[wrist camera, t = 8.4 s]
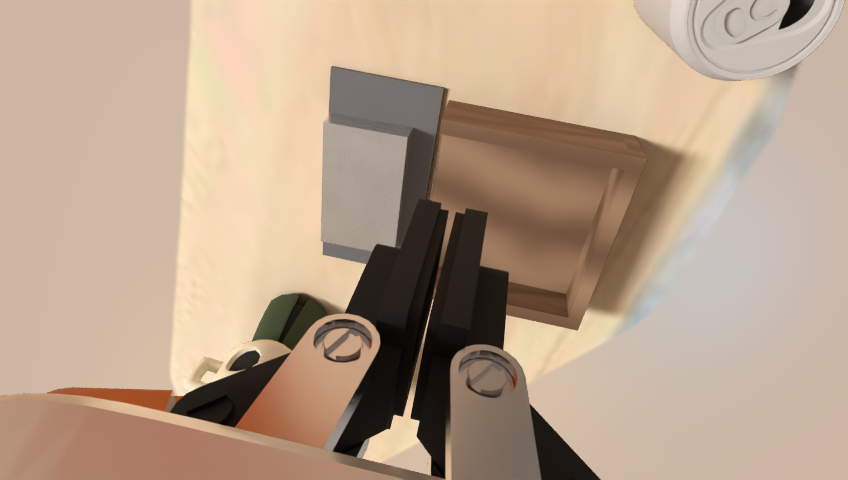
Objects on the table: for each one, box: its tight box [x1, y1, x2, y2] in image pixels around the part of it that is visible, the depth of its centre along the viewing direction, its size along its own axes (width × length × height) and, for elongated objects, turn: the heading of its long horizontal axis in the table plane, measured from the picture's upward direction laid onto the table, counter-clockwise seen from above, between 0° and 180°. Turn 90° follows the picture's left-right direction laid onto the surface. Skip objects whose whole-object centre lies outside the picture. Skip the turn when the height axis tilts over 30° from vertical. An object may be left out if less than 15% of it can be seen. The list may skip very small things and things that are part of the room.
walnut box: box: [431, 100, 647, 330], centre depth 38 cm, size 14×13×4 cm
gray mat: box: [323, 66, 444, 264], centre depth 41 cm, size 16×8×1 cm, turn 172°
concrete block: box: [321, 113, 413, 251], centre depth 40 cm, size 10×6×2 cm, turn 173°
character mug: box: [184, 294, 326, 392], centre depth 44 cm, size 11×7×13 cm, turn 72°
